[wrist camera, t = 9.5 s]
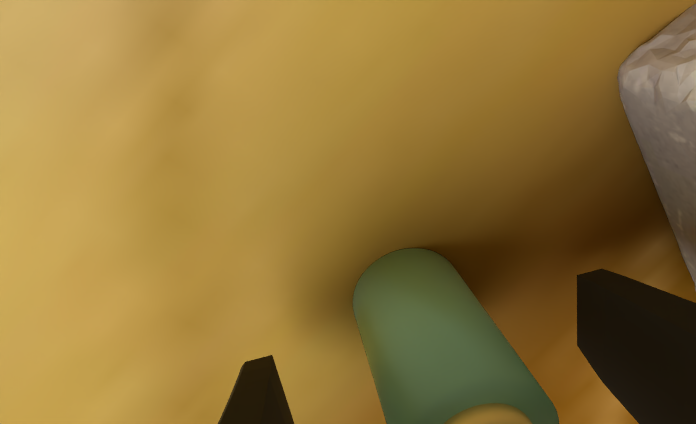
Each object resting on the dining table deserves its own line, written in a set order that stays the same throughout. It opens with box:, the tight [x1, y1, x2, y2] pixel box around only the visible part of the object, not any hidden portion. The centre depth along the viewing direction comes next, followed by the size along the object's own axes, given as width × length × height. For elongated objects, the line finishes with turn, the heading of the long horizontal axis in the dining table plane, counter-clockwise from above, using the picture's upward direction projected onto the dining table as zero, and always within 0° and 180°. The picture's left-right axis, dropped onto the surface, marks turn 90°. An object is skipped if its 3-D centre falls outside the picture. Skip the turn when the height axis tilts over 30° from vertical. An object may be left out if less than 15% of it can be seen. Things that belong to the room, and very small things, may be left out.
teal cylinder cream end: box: [353, 248, 559, 424], centre depth 11 cm, size 3×3×5 cm
